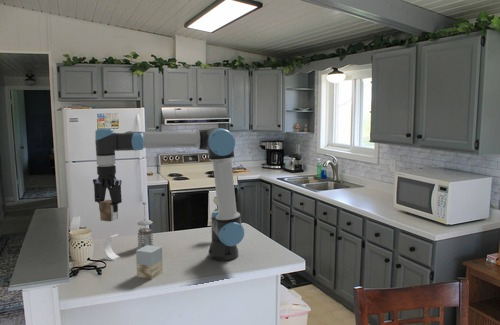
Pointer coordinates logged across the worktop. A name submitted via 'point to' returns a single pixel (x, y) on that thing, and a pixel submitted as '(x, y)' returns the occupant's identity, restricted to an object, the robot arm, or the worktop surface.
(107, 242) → the white curved piece
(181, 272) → the worktop surface
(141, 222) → the french press
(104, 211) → the walnut block
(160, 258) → the grey block
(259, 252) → the worktop surface
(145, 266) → the beech block
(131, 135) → the robot arm
